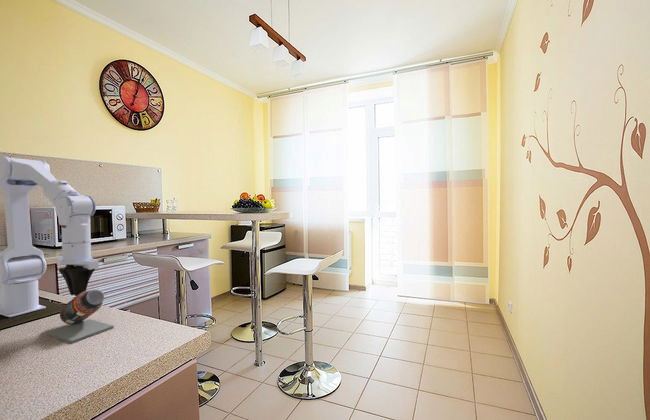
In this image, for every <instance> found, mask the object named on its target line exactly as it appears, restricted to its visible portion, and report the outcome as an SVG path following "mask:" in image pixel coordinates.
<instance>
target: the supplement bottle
mask: <svg viewBox="0 0 650 420" xmlns="http://www.w3.org/2000/svg"><path fill="white" fill-rule="evenodd" d="M104 300H105V295H104V293H103V291H101V290H99V289H92V290H86V291H84V292H82V293H80V294H79V295H77V296H75V297H73V298H72V299H71V300H70V301H68V302H67V303H66V304H64V305H63V307H62V308H61V309H60V312H59V318H60V320H61V321H62V322H63V323H65V324H67V325H69V326H70V325H73V324H76V323H80V322H83V321H86V320H87V319H88V318H89V317H90V316H92V315H93V314H94V313H96V312H98V310H99V309H101V307H102V306H103V302H104Z"/></svg>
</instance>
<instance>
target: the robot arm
mask: <svg viewBox="0 0 650 420" xmlns="http://www.w3.org/2000/svg"><path fill="white" fill-rule="evenodd" d="M50 166H51V165H50V164H48V163H47V162H46V161H45V160H41V159H40V160H34V159H26V158H17V157H7V156H5V155H3V156H0V189H1V190H2V191H3V203H4V215H5V228H6V229H5V230H6V241H7V243H6V244H7V247H6V248H5V249H3V250H2V251H0V315H2V316H4V317H8V318H12V317H16V316H17V317H18V316H20V315H24V314H27V313H31V312H35V311H40V310H43V309H46V306H44V305H41V304H40V303H39V299H40V298H39V279H41V278H42V276H44V274H45V272H46V271H47V267H48V266H47V261H46V259H45V255H44V252H43V250H41V249H39V248H37V247H35V246H34V245H33V237H32V227H31V214H30V202H29V201H30V200H29V199H30V198H29V192H30V191H32V190H35V189H38V188H39V187H41V188H42V194H43V196H44V197H46V199H47V200H48V201H50V203H52V204H53V205H54V209H55V214H56V215H57V219H58V224H59V225H60V226H61V254H62V256H61V257H60V256H58V257H56V265H57V266H65V267H63V268H59V269H58V272H59V273H60V274H61V276H62V277H63V279H64V281H65V283H66V286H67V288H68V292H69V294H70V295H71V296H75V297H76V296H77V295H79V294H80V293H82V292H84V291H87V289H88V288H87V287H88V285H89V282H90V279H91V277H92V275H93V273H94V271H95V270H96V269H99V268H100V267H99V265H100V262H99V260H97V259H95V258H93V257H92V242H91V241H92V237H91V236H92V235H91V233H92V232H91V217H93V216H94V214H95V213H96V210H97V207H96V206H97V205H96V202H95V200H94V198H93V197H92V196H91V195H87V194H85V195H84V194H80V193H79V192H78V191H77V190H76V189H75V188H73V187H72V186H71V185H70V184H69V183H68V181H67V180H59V179H57V178H56V177H55V176H54V175H53V174H52V173H51V167H50Z"/></svg>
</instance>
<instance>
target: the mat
mask: <svg viewBox="0 0 650 420" xmlns="http://www.w3.org/2000/svg"><path fill="white" fill-rule="evenodd" d="M114 327H115V326H114V325H112V324H109V323H105V322H102V321H98V320H94V319H85V320H83V321H82V322H80V323H76V324H73V325H70V324H69V325H67V326H64V327H61V328H59V329H55V330H52V331H48V332H47V336H49V337H52V338H55V339H57V340H58V339H59V340H61V341H63V342H67V343H70V344H74V343H77V342H79V341H82V340H85V339H87V338H90V337H93V336H95V335H98V334H102V333H104V332H107V331H109V330H111V329H114Z"/></svg>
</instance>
